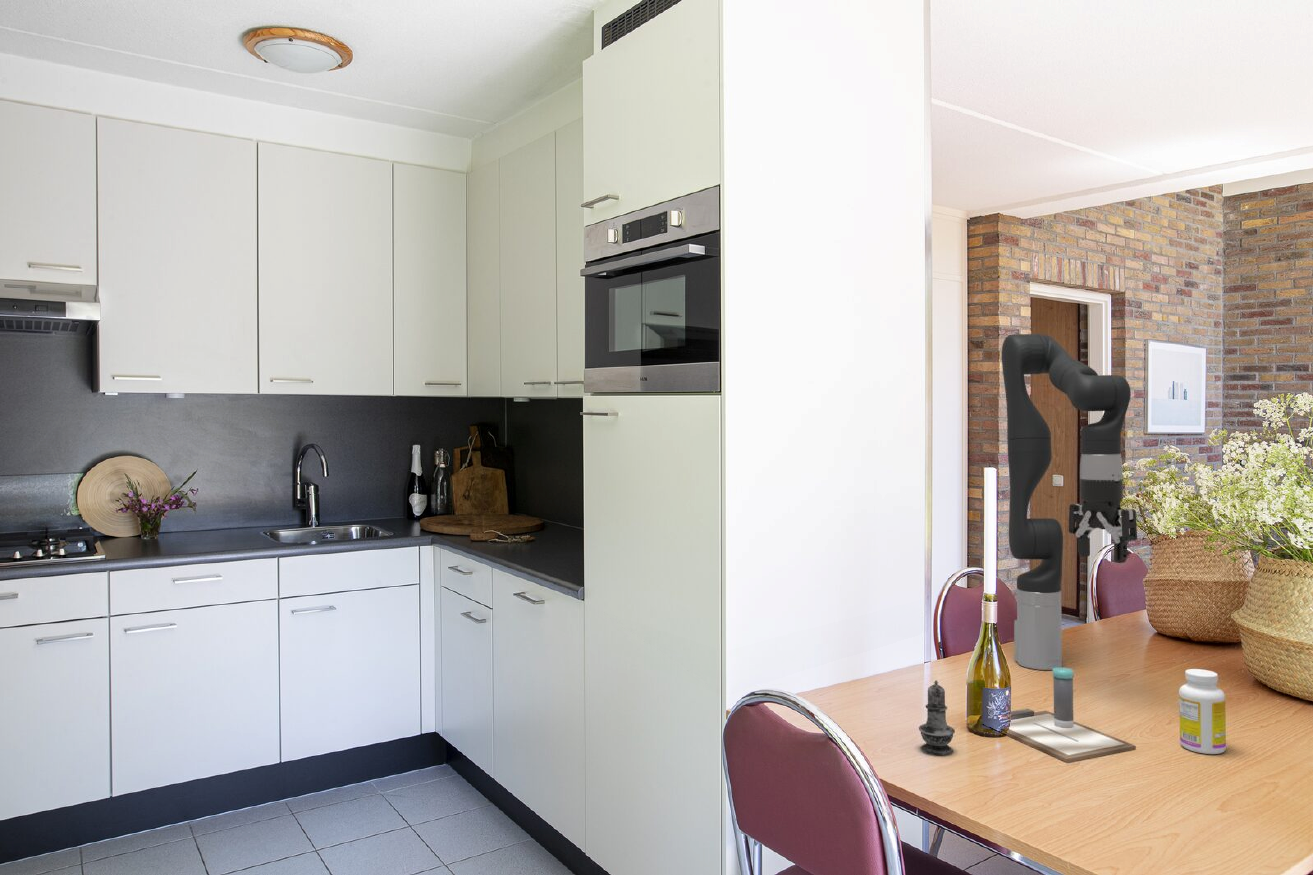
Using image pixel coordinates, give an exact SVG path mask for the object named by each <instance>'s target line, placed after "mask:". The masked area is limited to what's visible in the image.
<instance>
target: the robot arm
mask: <svg viewBox="0 0 1313 875" xmlns="http://www.w3.org/2000/svg"><path fill="white" fill-rule="evenodd" d="M1001 368H1002V375H1003V383H1004V391H1005V402H1006V423H1007V424H1006V426H1007V434H1006V435H1007V438H1006V439H1007V459H1008V460H1007V461H1008V477H1009V510H1008V511H1009V514H1008V515H1009V516H1008V543H1009V549H1010V550H1009V551H1010V553H1011V556H1013V558H1014V559H1017V560H1041V562H1040V564H1039V565H1038V566H1036V567H1035V568H1033V569H1031V570H1029V571H1025V572H1024V573H1020V574H1019V575H1018V576H1017V577H1016V578H1017V579H1016V603H1017V604H1016V606H1017V608H1016V611H1017V612H1016V613H1017V614H1016V616H1017V619H1015V620H1014V621H1013V625H1014V626H1013V628H1014V629H1013V631H1014V632H1013V633H1014V634H1013V635H1014V636H1013V639H1014V640H1013V643H1014V644H1013V646H1014V662H1017V664H1018V665H1019V666H1022V667H1024V668H1027V669H1033V670H1039V671H1040V670H1043V671H1053V668H1055V667H1062V666H1063V658H1062V657H1063V654H1062V653H1063V650H1062V648H1063V642H1062V641H1063V640H1062V639H1063V637H1062V636H1063V634H1062V633H1063V632H1062V580H1063V557H1064V556H1063V553H1064V533H1063V528H1062V525H1061V523H1060V522H1059V521H1058V520H1057V519H1055V518H1049V517H1045V518H1043V517H1042V518H1039V517H1037V518H1028V512H1029V511H1028V509H1029V505H1030V501H1031V499H1032V496H1033V494H1034V492H1035V490H1036V488H1037V487H1038V485H1039V483H1040V482H1041V480H1042V479H1043V477H1044V476H1045V474H1046V473H1047V470H1048V469H1049V467H1050V465H1051V462H1052V455H1053V454H1052V434H1051V433H1052V432H1051V430H1050V427H1049V425H1048V423H1047V421H1046V420H1045V418H1044V417H1043V416H1042V414H1041V413H1040V411H1039V410H1038V408H1037V407H1036V406H1035V404H1034V403H1033V401H1032V399H1031V397H1030V395H1029V393H1028V390H1027V386H1026V381H1025V375H1043V374H1047V375H1048V378H1049V380H1050V383H1051V384H1052V385H1053V386H1054V387H1055V388H1056V389H1057V390H1059V391H1060V392H1061V393H1063V394H1065V395H1066V396H1067V397H1068V399H1069V402H1070V403H1071V405H1072V406H1073V408H1075V409H1077V410H1079V411H1083V412H1103V414H1102V416H1101V418H1100V420H1099V421H1096V422H1093V423H1089V424H1086V425H1084V426H1082V427H1081V429H1080V430H1081V431H1080V462H1079V499H1080V500H1081V502H1082V503H1071V504H1069V508H1068V512H1069V513H1068V532H1069V533H1070V534H1073V535H1074V536H1076V538H1077V553H1078V556H1079V557H1082V558H1083V557H1084V558H1085V557H1089V556H1090V555H1091V537H1089V536H1090V535H1091V534H1092V532H1094V531H1093V530H1095V529H1100V530H1105V531H1106V533H1108V534H1109V535H1110V536H1111V537H1112V539H1113V541H1114V542H1115V543H1114V544H1113V557H1114V558H1113V560H1114V563H1116V564H1124V563H1126V561H1127V559H1128V543H1129V542H1133V541H1137V540H1138V530H1137V529H1138V527H1137V512H1136V510H1135V509H1134V508H1131V509H1130V508H1128V509H1122V507H1121V503H1122V502H1123V499H1124V497H1123V496H1124V495H1123V494H1124V483H1123V481H1124V479H1123V478H1124V477H1123V476H1124V475H1123V474H1124V472H1123V461H1122V443H1121V442H1122V438H1121V435H1122V431H1123V430H1122V429H1123V426H1124V422H1125V418H1126V414H1127V411H1128V409H1129V405H1130V400H1131V396H1132V392H1131V387H1130V383H1129V381H1127V379H1126V378H1125V377H1123V376H1121V375H1118V374H1104V375H1103V374H1102V375H1100V374H1099V373H1097V371H1096V370H1095V369H1093V368H1092V367H1090V366H1089V365H1087V364H1086V363H1083V362H1081V361H1079V360H1077V359H1076V358H1074V357H1072V356H1071V354H1069V353H1068V352H1067V351H1066V349H1065V348H1063V347H1062V346H1061V345H1060V344H1059V343H1058V342H1057V340H1055V339H1054V338H1053V337H1051V336H1049V335H1046V334H1042V333H1031V334H1030V333H1025V334H1023V333H1022V334H1021V333H1020V334H1019V333H1018V334H1017V333H1016V334H1009V335H1007V336H1006V337H1005V338H1004V340H1003V343H1002V346H1001ZM1098 374H1099V375H1098Z"/></svg>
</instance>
